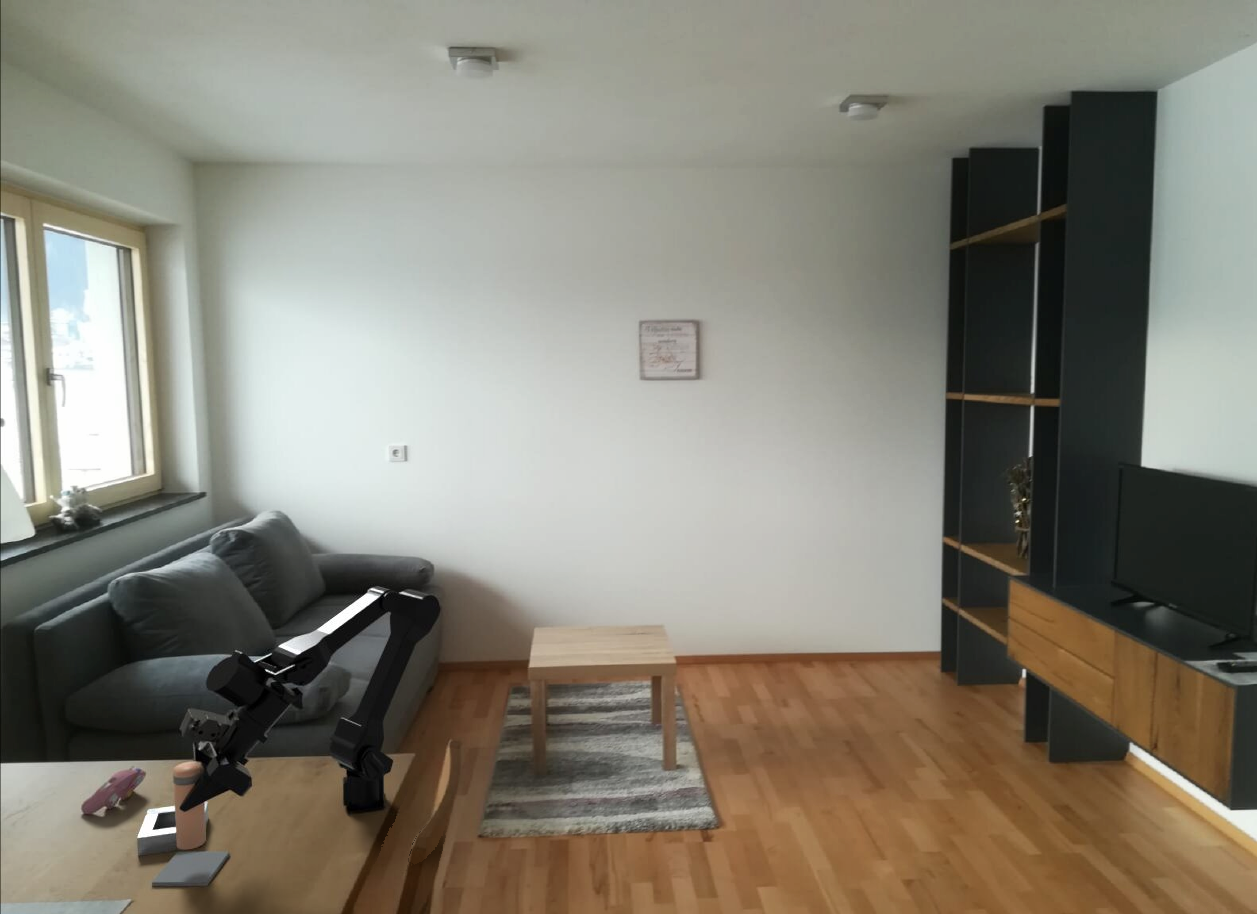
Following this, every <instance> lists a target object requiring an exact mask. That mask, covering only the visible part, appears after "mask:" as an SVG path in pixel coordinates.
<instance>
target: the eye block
mask: <svg viewBox="0 0 1257 914" xmlns="http://www.w3.org/2000/svg"><path fill="white" fill-rule="evenodd" d="M204 803H205V826H206V827H207V825H208V821H209V801H205V802H204ZM136 842H137V843H136V845H137V857H140V856H141V857H142V856H148V855H154V854H155V855H156V854H160V853H168V852H174V851H182V850H183V849H179V848H178V847H177V840H176V819H175V805H172V806H171V805H170V806H165V807H158V808H149V809H147V812H146V815H145V816H144V819H143V822H142V825H141V827H140V830H139V833H138V835H137V838H136ZM202 846H203V844H202V845H200V846H198V847H197V848H200V847H201V848H202Z"/></svg>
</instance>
